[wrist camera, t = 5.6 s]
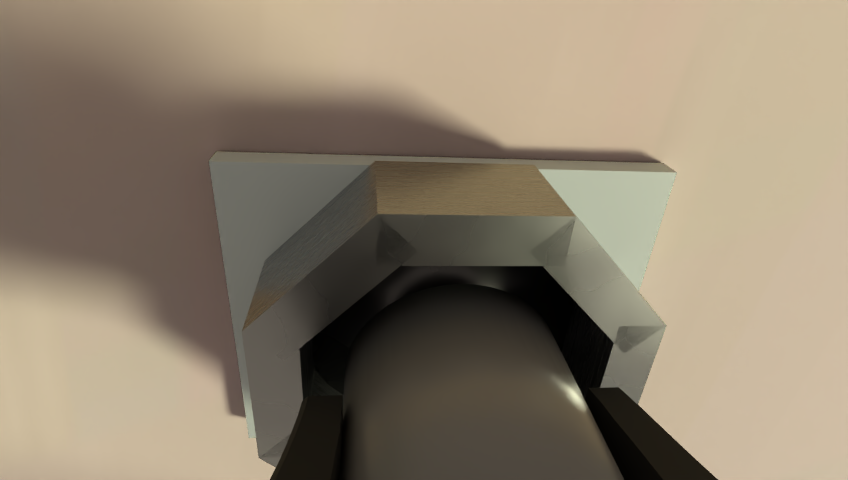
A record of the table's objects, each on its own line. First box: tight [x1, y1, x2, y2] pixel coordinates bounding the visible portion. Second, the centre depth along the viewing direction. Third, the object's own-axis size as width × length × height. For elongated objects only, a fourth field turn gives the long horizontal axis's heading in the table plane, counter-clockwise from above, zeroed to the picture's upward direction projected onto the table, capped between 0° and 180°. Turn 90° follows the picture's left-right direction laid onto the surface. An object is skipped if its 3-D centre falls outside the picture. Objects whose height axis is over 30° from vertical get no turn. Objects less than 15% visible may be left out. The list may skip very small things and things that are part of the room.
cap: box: [340, 284, 624, 480], centre depth 9 cm, size 5×5×5 cm
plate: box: [209, 151, 677, 438], centre depth 13 cm, size 10×8×1 cm
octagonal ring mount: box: [242, 161, 666, 467], centre depth 12 cm, size 8×8×2 cm
